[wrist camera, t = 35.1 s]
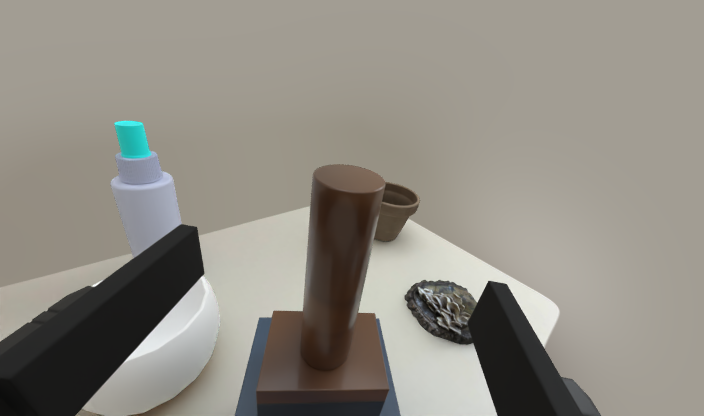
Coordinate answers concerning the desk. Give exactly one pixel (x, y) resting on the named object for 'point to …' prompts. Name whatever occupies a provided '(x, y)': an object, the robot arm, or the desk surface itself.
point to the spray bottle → (142, 190)
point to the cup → (163, 357)
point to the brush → (330, 310)
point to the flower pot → (395, 210)
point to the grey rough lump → (442, 309)
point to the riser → (247, 399)
